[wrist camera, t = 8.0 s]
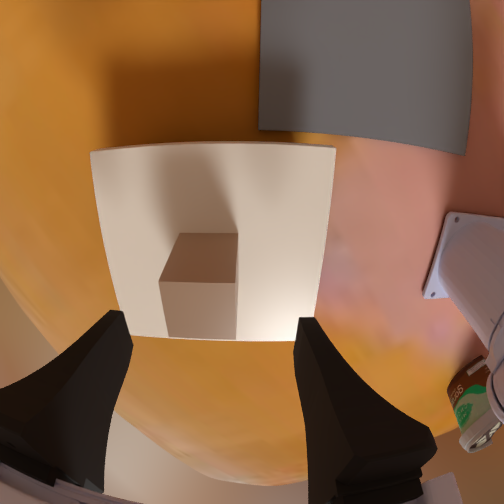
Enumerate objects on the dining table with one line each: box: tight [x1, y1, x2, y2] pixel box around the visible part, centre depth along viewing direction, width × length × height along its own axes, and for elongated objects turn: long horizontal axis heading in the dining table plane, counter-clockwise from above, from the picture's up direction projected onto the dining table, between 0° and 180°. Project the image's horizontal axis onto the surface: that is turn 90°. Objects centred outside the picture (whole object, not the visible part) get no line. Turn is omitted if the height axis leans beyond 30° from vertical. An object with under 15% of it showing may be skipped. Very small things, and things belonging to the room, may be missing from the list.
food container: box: [447, 355, 503, 453], centre depth 27 cm, size 12×6×10 cm, turn 21°
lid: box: [90, 141, 336, 341], centre depth 15 cm, size 12×12×5 cm
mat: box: [258, 0, 473, 156], centre depth 14 cm, size 15×15×1 cm
